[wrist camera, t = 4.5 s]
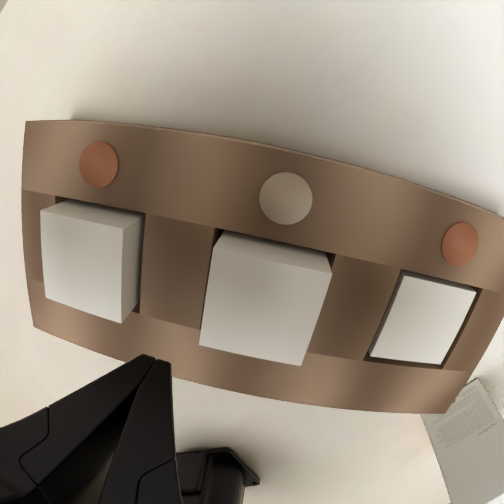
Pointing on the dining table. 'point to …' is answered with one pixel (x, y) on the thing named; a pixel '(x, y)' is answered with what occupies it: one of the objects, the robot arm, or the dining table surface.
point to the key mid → (263, 297)
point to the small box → (470, 447)
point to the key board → (270, 227)
